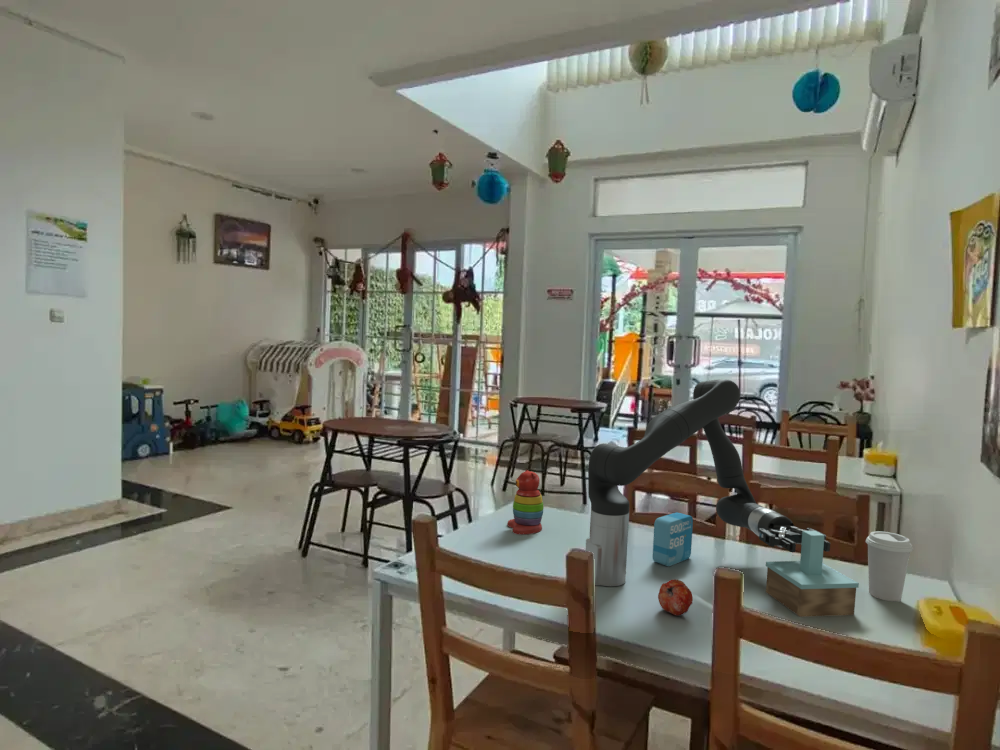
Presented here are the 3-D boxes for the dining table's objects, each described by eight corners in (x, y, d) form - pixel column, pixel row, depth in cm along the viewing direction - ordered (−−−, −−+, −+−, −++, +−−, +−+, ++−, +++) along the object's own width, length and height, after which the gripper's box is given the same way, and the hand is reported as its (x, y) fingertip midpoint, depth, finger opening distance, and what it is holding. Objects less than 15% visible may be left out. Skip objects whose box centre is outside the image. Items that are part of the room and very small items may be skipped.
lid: (801, 592, 136) (804, 543, 135) (765, 569, 150) (768, 524, 149) (858, 591, 138) (862, 542, 138) (818, 568, 152) (821, 523, 151)
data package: (666, 567, 165) (668, 522, 164) (651, 562, 169) (654, 518, 168) (691, 558, 173) (693, 515, 173) (676, 553, 177) (679, 511, 176)
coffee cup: (908, 610, 144) (914, 546, 143) (860, 600, 149) (865, 537, 148) (908, 596, 152) (913, 535, 151) (862, 587, 157) (867, 527, 156)
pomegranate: (664, 612, 144) (642, 594, 138) (682, 585, 145) (661, 565, 140) (690, 629, 137) (668, 610, 132) (708, 600, 139) (687, 581, 134)
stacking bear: (505, 524, 198) (507, 467, 197) (536, 522, 200) (539, 467, 199) (514, 535, 187) (517, 475, 186) (547, 533, 190) (549, 475, 189)
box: (799, 620, 137) (801, 588, 136) (765, 595, 150) (767, 566, 149) (853, 618, 139) (856, 587, 138) (815, 593, 152) (817, 565, 151)
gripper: (745, 511, 158) (783, 531, 142) (797, 510, 161) (841, 531, 145) (743, 540, 159) (781, 564, 143) (795, 539, 161) (838, 563, 145)
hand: (811, 547), depth 144 cm, fingers open, 8 cm apart
